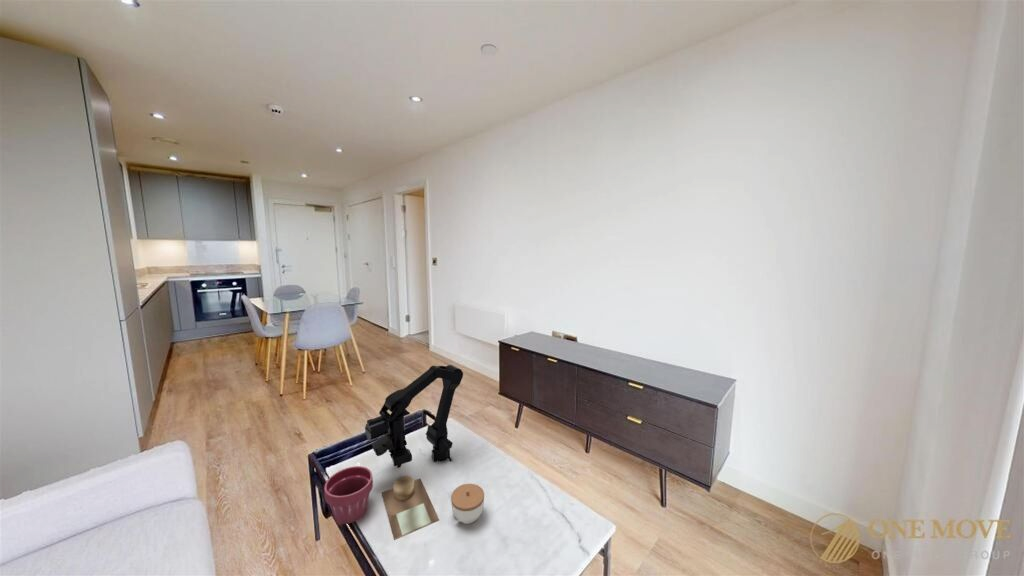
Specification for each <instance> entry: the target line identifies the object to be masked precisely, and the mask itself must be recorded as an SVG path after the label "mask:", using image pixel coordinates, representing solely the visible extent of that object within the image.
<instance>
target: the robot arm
mask: <svg viewBox="0 0 1024 576" xmlns="http://www.w3.org/2000/svg"><path fill="white" fill-rule="evenodd" d="M463 377H464V372H463V370H462V369H461V368H458V367H456V366H455V365H452V364H447V365H446V366H445V365H431V366H430V367H429V368H428V370H426V371H425V372H424V373H422V374H421V375H419V377H417V378H416V379H415V380H413V381H412V382H411V383H409V384H408V385H407V386H405V387H404V388H401V389H397V390H395V391H393V392H392V393H390V394H389V395H387V396H386V397H385V401H384V403H383V405H382V407H381V409H380V410H379V412H378V414H379V415H380V416H376V417H374V418H370V419H367V420H366V424H365V427H364V431H365V435H366V438H367V440H368V441H373V440H375V439H376V440H375V441H373V442H372V444H371V446H372V449H373V452H374V454H375V455H376V457H379V456H383V455H384V454H386V453H387V451H388V453H390V454H389V455H390V458H391V460H392V464H393V467H396V468H397V469H400V468H401V466H402V465H404V464H406V463H410V462H412V461H413V454H412V452H411V450H410V449H409V448H407V445H408V443H407V440H406V435H407V430H406V426H405V416H409V415H411V413H410V412H411V411H408V409H407V408H408V407H409V406H410V405H411V403H412V401H413V399H414V398H415V397H416V396H418V395H419V394H420V393H421V392H422V391H424V390H425V389H426V388H428V387H429V386H430V385H431V384H432V383H434V381H436V380H437V379H441V381H442V391H441V396H440V398H439V402H438V407H437V410H436V415H435V419H434V422H433V423H432V424H428V426H427V430H426V433H425V435H426V437H425V438H426V440H427V441H428V442H429V443H430V444H431V445H432V450H431V460H432V461H433V462H435V463H436V462H445V461H447V460H449V462H452V460H453V459H452V458H451V449H452V448H453V444H454V442H452V441H451V439H448V434H449V431H448V425H447V422H448V419H449V415H450V412H451V407H452V403H453V400H454V395H455V391H456V389H457V388H458V387H459V386H460V385H461V383H462V380H463ZM388 411H389V412H388ZM390 412H391V413H390ZM379 437H380V438H379ZM377 438H378V439H377Z"/></svg>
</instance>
